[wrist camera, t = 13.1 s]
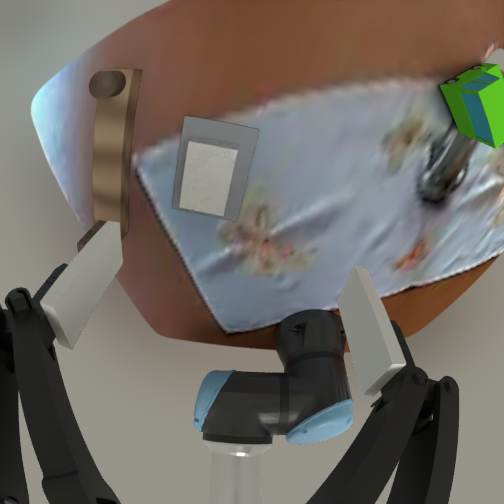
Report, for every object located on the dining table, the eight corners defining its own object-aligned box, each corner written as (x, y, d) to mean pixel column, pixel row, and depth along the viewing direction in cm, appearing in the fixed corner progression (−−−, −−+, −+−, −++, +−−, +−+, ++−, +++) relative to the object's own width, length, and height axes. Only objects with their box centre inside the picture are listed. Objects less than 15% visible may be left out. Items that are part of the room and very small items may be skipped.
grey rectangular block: (226, 204, 39) (223, 216, 35) (186, 195, 38) (179, 207, 35) (240, 144, 34) (237, 150, 30) (196, 135, 33) (188, 141, 30)
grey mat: (236, 220, 40) (236, 222, 40) (172, 207, 39) (171, 208, 39) (259, 129, 33) (259, 130, 32) (185, 115, 32) (184, 116, 31)
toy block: (498, 108, 25) (537, 121, 17) (457, 136, 30) (497, 155, 22) (478, 55, 21) (518, 59, 13) (432, 79, 26) (474, 84, 18)
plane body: (128, 231, 42) (101, 267, 34) (103, 225, 41) (74, 259, 33) (142, 70, 28) (105, 67, 19) (112, 70, 27) (70, 70, 19)
